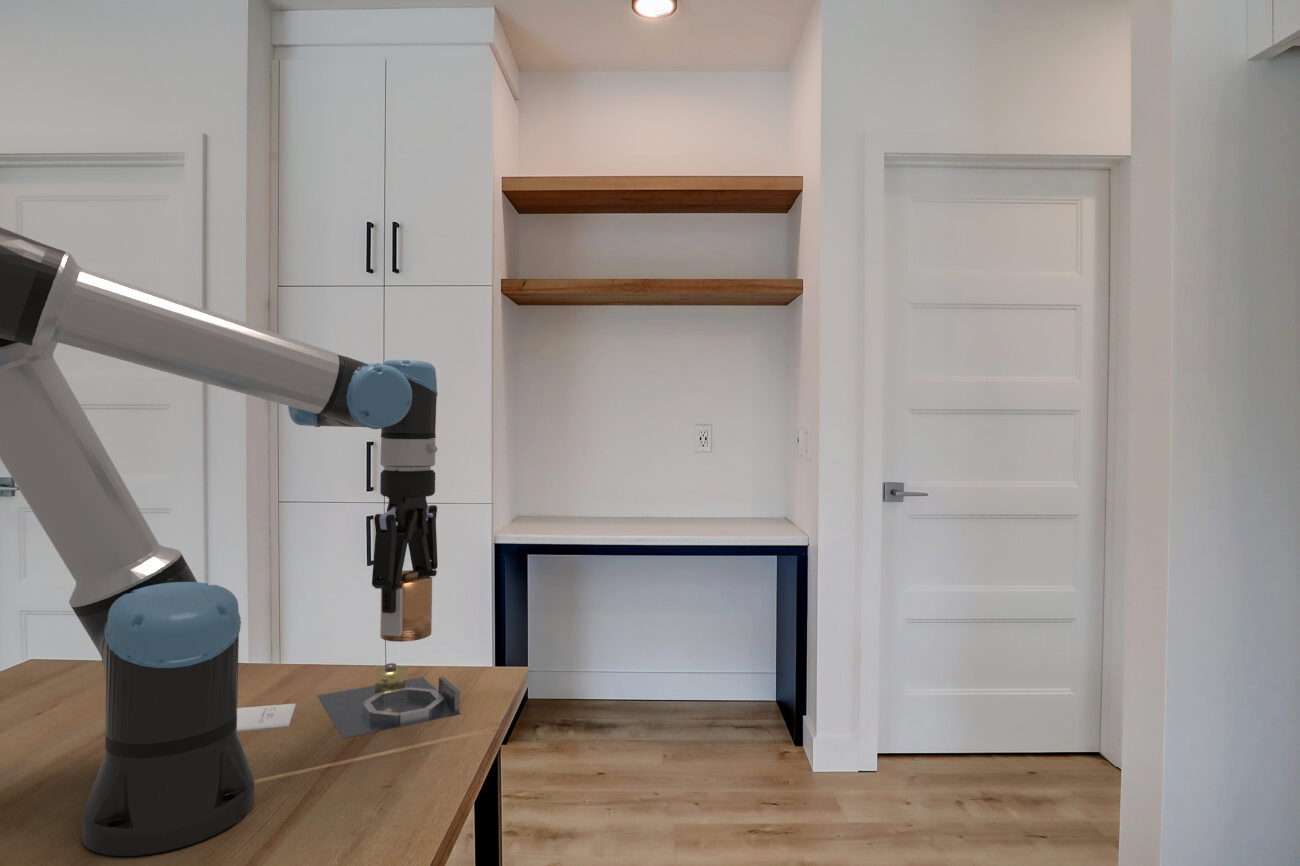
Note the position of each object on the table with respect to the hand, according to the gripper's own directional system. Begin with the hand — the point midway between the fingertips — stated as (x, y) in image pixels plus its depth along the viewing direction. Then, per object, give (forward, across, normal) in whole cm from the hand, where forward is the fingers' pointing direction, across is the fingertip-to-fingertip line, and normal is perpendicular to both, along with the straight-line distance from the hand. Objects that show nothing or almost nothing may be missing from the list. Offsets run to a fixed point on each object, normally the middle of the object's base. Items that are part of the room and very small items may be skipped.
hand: (406, 627), depth 107 cm
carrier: (+12, +1, +3) cm, 13 cm away
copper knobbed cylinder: (+1, 0, 0) cm, 1 cm away
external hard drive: (+13, -9, +19) cm, 25 cm away
